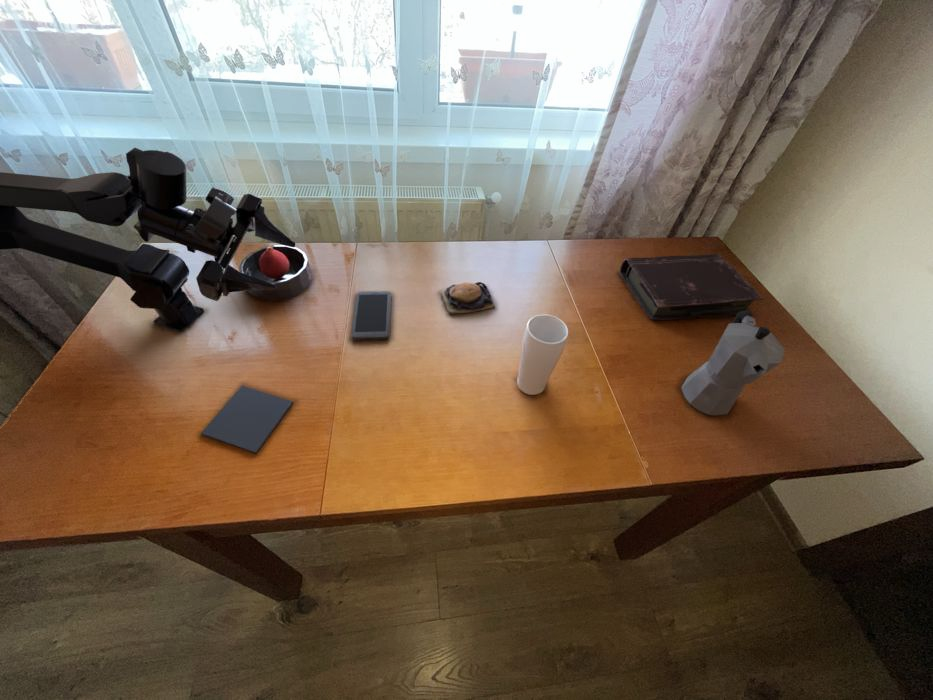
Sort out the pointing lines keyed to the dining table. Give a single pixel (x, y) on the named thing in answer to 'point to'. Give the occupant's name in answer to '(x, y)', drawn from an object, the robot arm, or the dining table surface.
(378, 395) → the dining table surface
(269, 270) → the red rounded piece
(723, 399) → the coffeepot
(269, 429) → the mat
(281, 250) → the bowl
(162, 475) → the dining table surface
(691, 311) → the diary
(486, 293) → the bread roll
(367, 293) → the cell phone
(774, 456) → the dining table surface
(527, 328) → the tall white cup
